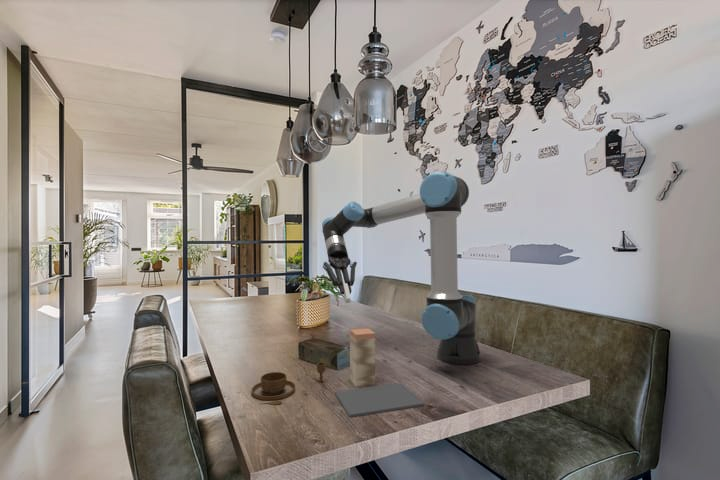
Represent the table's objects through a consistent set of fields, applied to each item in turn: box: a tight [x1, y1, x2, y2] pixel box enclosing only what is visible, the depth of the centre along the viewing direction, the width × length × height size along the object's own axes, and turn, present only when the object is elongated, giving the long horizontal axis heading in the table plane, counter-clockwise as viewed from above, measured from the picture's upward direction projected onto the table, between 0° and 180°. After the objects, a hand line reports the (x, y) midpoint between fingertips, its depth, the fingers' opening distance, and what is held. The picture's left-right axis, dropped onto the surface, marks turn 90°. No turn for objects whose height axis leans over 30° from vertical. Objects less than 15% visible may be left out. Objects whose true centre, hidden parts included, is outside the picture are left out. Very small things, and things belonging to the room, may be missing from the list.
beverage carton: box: [297, 337, 350, 371], centre depth 127 cm, size 8×19×7 cm, turn 52°
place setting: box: [251, 363, 326, 406], centre depth 102 cm, size 18×20×6 cm
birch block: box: [349, 328, 376, 387], centre depth 109 cm, size 6×6×15 cm
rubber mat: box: [334, 382, 425, 418], centre depth 97 cm, size 20×14×1 cm
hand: (348, 300), depth 124 cm, fingers closed
